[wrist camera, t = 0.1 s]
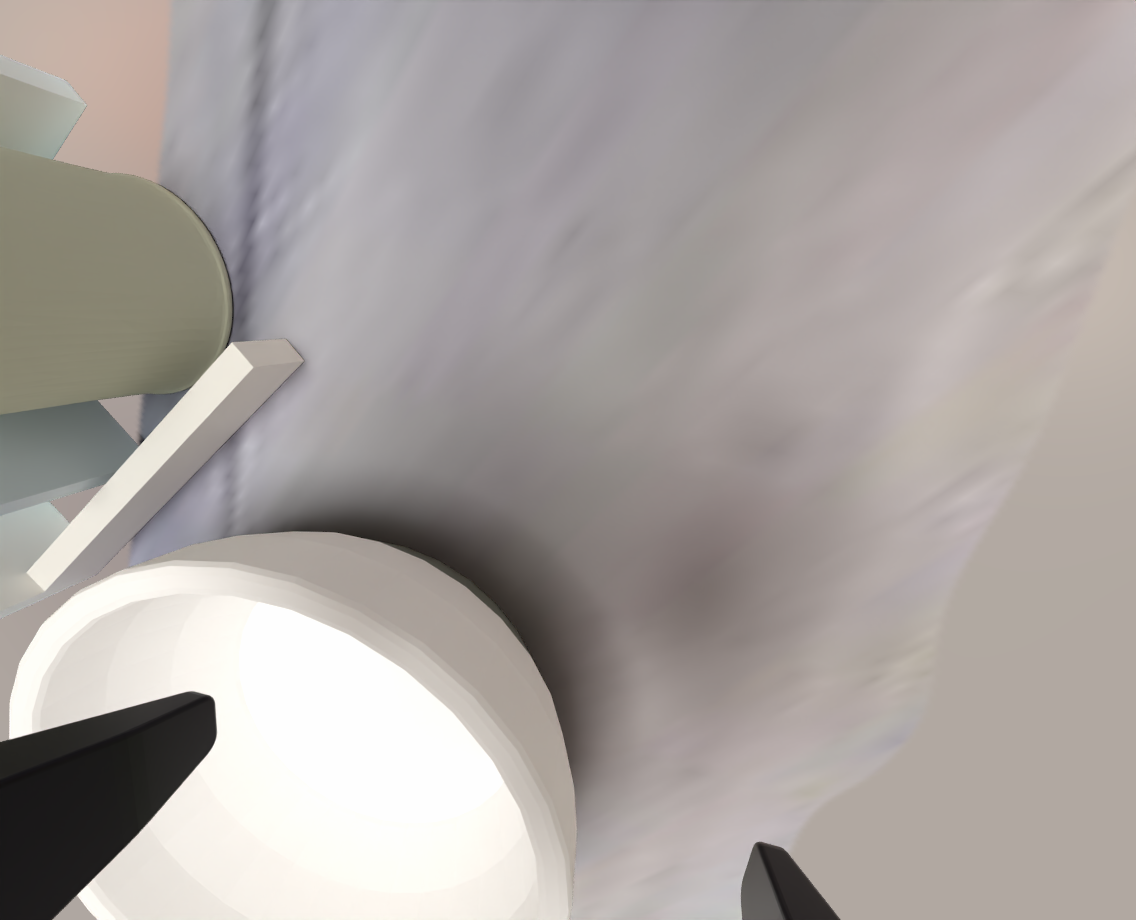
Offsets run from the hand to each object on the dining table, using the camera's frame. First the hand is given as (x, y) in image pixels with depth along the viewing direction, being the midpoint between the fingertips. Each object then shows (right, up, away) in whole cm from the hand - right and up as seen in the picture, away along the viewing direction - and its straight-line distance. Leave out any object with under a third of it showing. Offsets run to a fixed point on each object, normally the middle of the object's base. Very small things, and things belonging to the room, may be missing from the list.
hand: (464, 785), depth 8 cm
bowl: (-8, -7, +19) cm, 22 cm away
